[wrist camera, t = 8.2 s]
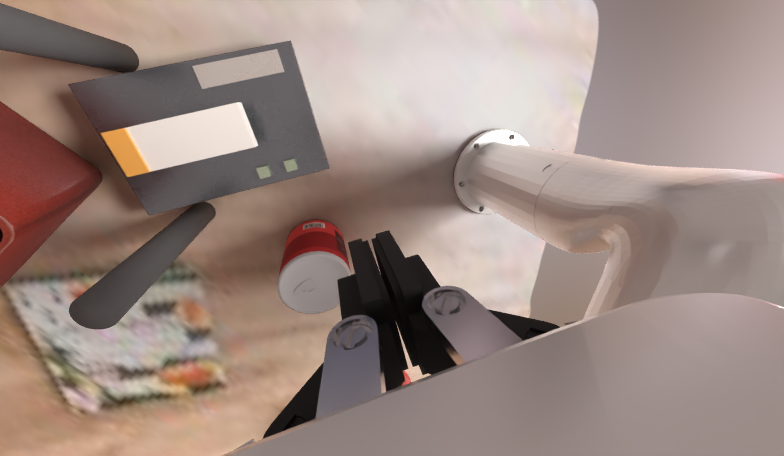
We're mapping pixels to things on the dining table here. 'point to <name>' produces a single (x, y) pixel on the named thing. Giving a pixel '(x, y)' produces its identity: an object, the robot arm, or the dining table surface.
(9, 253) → the plant pot
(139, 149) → the paddle
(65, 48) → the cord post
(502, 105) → the dining table surface
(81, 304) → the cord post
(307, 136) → the breaker panel
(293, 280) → the canned food
